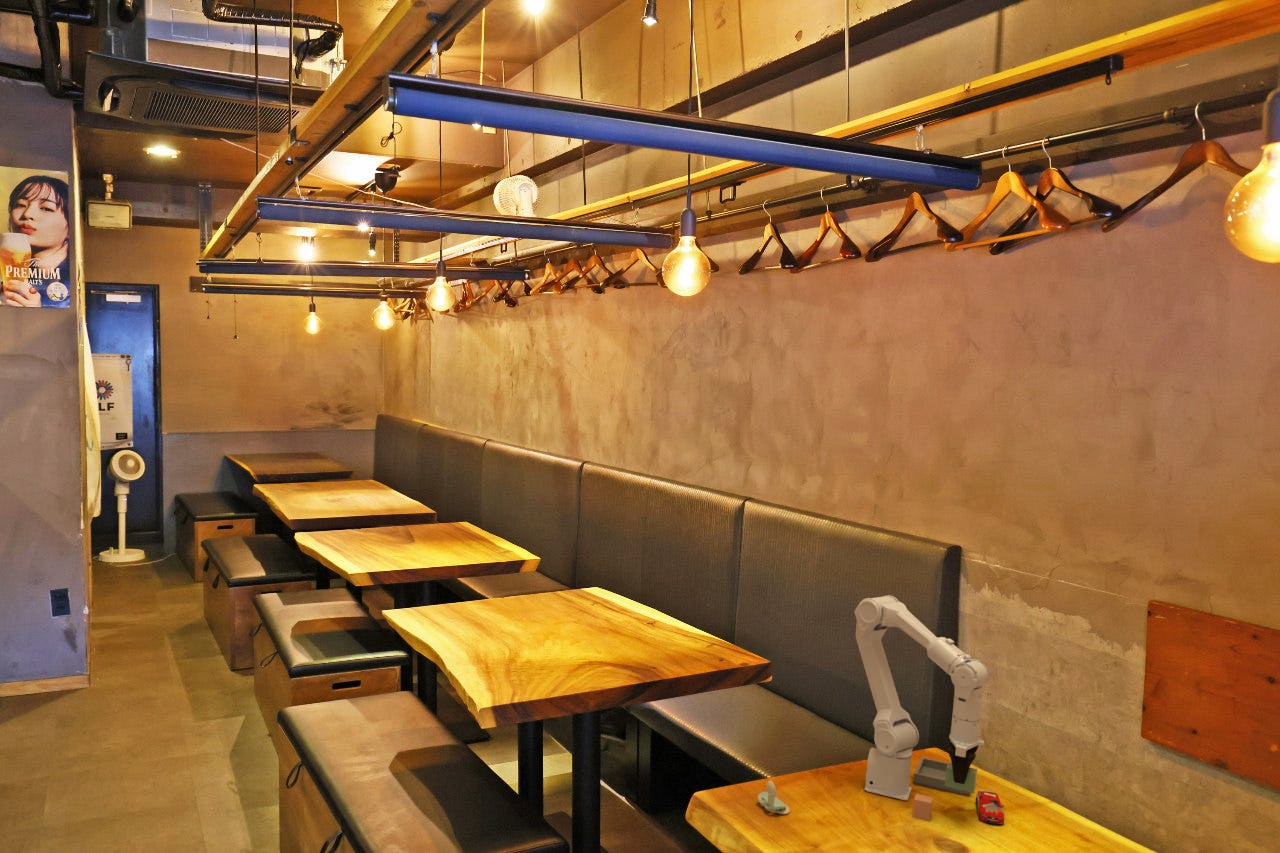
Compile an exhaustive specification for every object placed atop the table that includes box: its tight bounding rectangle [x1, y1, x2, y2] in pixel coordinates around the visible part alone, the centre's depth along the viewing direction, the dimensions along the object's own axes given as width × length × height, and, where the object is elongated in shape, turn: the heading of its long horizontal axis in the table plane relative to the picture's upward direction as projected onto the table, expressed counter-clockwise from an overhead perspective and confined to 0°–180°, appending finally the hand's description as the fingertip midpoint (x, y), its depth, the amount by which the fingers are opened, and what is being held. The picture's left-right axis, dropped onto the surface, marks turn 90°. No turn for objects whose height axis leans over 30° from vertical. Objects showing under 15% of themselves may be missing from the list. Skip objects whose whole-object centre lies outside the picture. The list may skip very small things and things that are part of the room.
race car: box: [975, 789, 1005, 825], centre depth 210 cm, size 13×5×4 cm, turn 164°
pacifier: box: [757, 780, 790, 815], centre depth 202 cm, size 7×6×6 cm
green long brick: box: [945, 762, 978, 794], centre depth 206 cm, size 6×4×4 cm, turn 66°
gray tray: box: [912, 756, 972, 798], centre depth 226 cm, size 13×13×2 cm
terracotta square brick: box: [912, 793, 934, 822], centre depth 205 cm, size 4×4×4 cm
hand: (960, 779), depth 206 cm, fingers closed on green long brick, 3 cm apart
